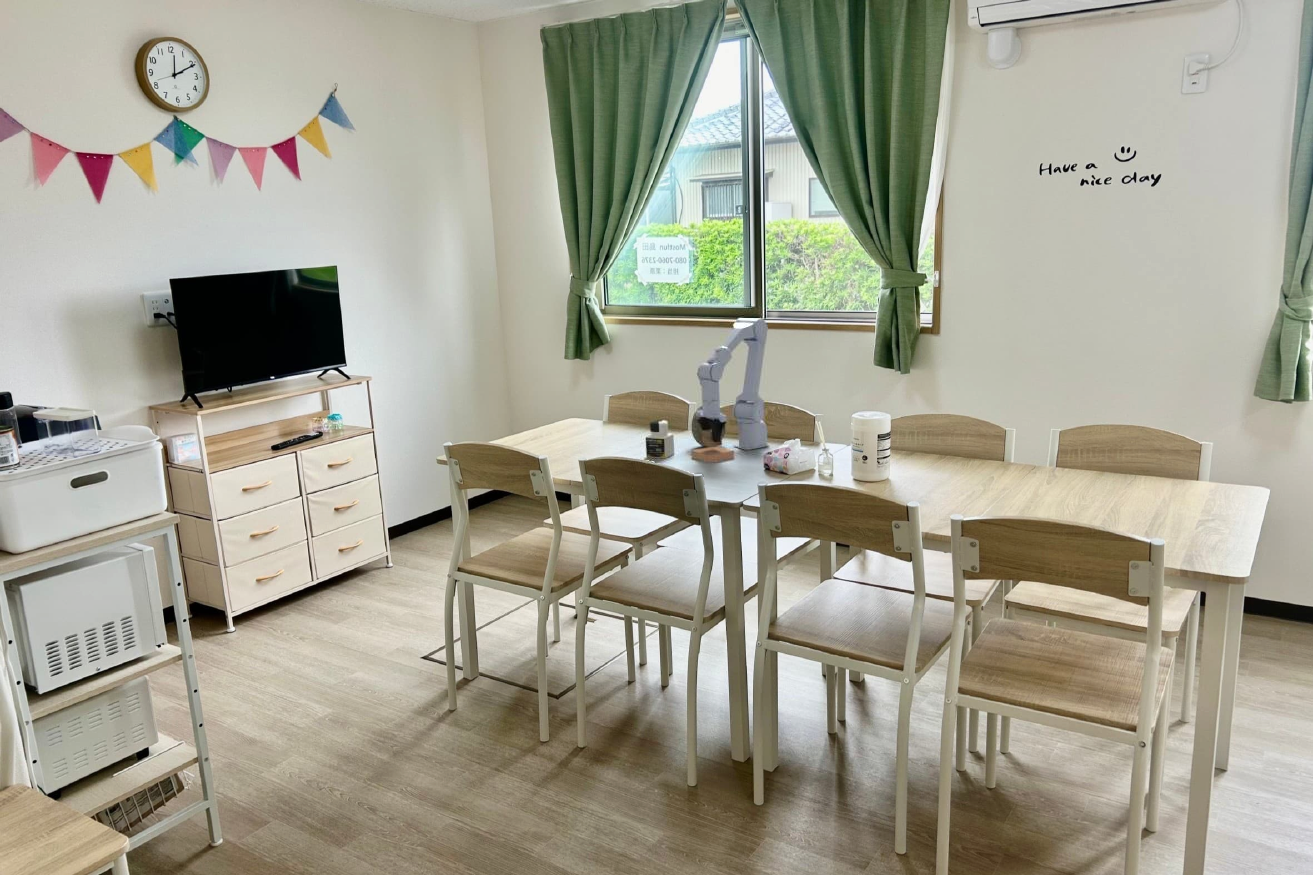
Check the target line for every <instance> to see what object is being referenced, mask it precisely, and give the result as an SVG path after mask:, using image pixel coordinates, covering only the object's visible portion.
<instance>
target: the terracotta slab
mask: <svg viewBox="0 0 1313 875" xmlns="http://www.w3.org/2000/svg"><path fill="white" fill-rule="evenodd" d="M734 452H735V450H733V449H729V448H726V447H722V446H714V447H703V448H698V449H691V458H692V459H694V460H698V461H700V460H701V462H703V461H705V462H704V463H707V464H711V463H716V462H715V461H717V462H722V461H721V460H723V461H726V460H727V459H728V460H732V459H733V460H734V459H735V453H734Z"/></svg>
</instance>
